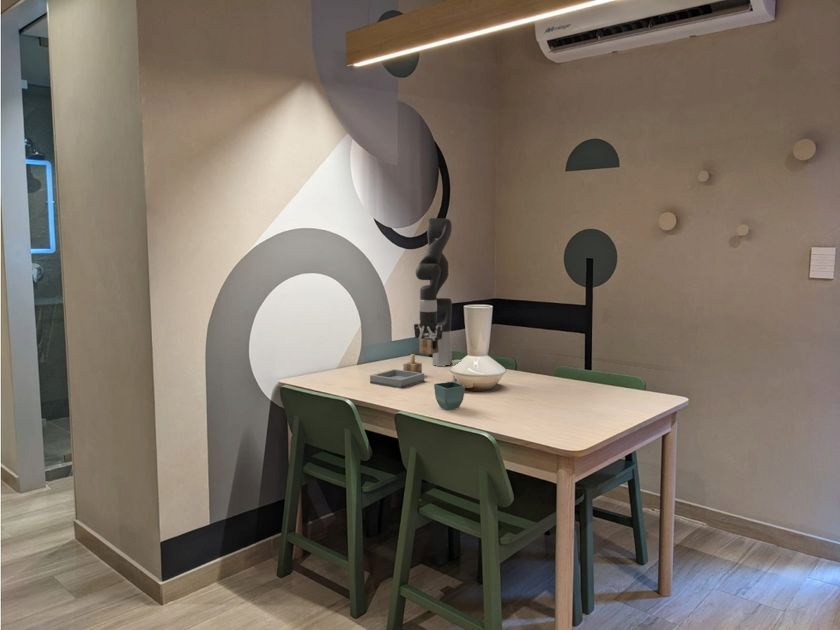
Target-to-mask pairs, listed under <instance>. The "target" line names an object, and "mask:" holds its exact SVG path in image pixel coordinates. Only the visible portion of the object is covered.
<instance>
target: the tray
mask: <svg viewBox="0 0 840 630" xmlns="http://www.w3.org/2000/svg"><path fill="white" fill-rule="evenodd" d="M423 381H424V382H425V373H424V372H422V373H418V372H411V371H404V370H402V369H395V368H393V369H389V370H386V371H385V370H384V371H382V372H378V373H374V374H370V376H369V383H370V384H373V385H378V384H379V385H378V386H385V387H391V388H397V389H403V387H404V388H407V387H411V386H414V385H416V383H417V384H420V383H424V382H423ZM419 382H420V383H419ZM413 384H414V385H413ZM406 386H407V387H406Z"/></svg>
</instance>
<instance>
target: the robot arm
mask: <svg viewBox="0 0 840 630" xmlns="http://www.w3.org/2000/svg"><path fill="white" fill-rule="evenodd" d="M452 230H453V226H452V221H451V219H449V218H438V217H437V218H436V217H434V218H433V217H431V218H429V219H428V220H427V223H426V235H427V243H428V244H427V245H428V247H426V250H425V253H424V256H423V258H422V259H421V260H420V261H419V263H418V264H417V266H416V269H415V277H416V278H417V279H418V280H419V281H429V284H426V285H422V286H421V287H420V288H419V289H420V290H419V295H420V296H419V300H420V301H419V323H414V324H413V329H414V337H415V338H416V339H418V340H419V339H423V338H426V337H425V336H426V335H427V334H428V335H429V336H430V338H432V339H433V350H435V349H437V347H438V342H439V352H438V353H434V354H432V365H433V366H434V365H436V366H435V367H444V366H443V365H449V364H451V363H452V364H453V345H452V313H453V312H452V311H453V302H452V298H448V297H447V298H446V297H445V298H443V297H442V298H441V297H437V295H438V294H439V291H440V290H441V288H442V287H443V285H444V284H445V283H446V281H447V280H448V277H449V260H448V259H447V257H446V255H445V254H444V253H443V251H444V249H445V247H446V246H447V244H448V241H449V239H450V237H451V234H452ZM438 318H444V319H443V320H442V321H440V322H438ZM420 329H421V330H420ZM452 364H451V365H452Z"/></svg>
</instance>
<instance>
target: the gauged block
mask: <svg viewBox="0 0 840 630" xmlns="http://www.w3.org/2000/svg"><path fill="white" fill-rule="evenodd" d="M409 356H410V359H409V360H410V361H408V362H403V363H402V365H403V370H404V371H411V372H418V373H423V369H422V366H423V363H422V362H418V361H417V362H416V361H415V360H416V354H414V353H413V354H410V355H409Z"/></svg>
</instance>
